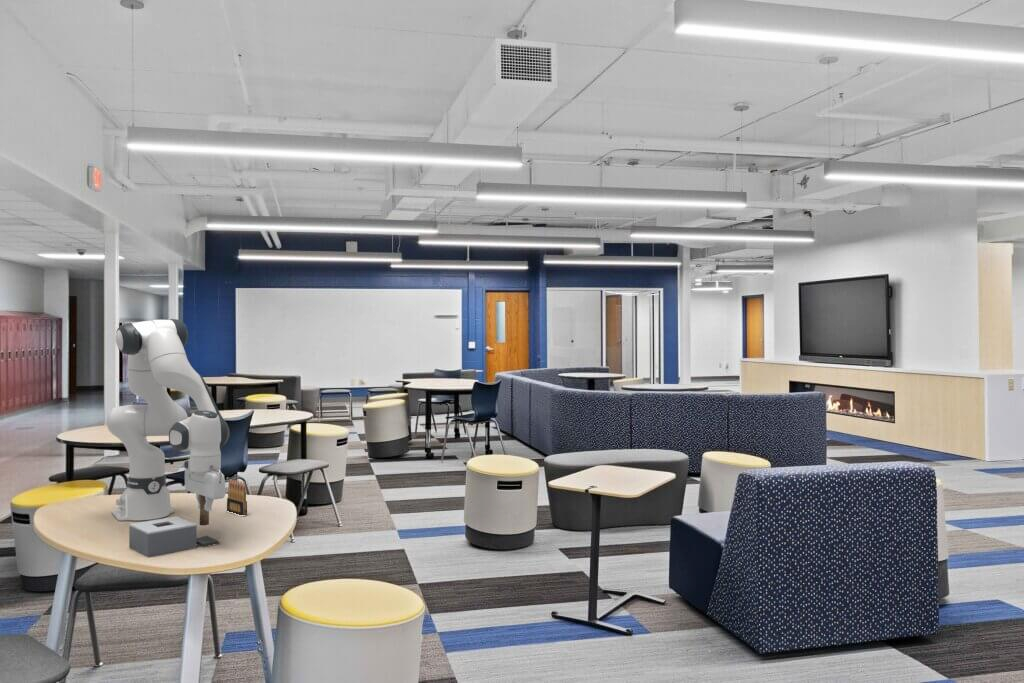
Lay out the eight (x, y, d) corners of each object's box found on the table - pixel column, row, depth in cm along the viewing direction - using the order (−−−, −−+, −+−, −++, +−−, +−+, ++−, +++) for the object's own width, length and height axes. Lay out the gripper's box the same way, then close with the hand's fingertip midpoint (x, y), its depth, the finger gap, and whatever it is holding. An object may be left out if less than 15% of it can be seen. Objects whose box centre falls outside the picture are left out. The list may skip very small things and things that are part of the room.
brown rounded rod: (198, 524, 229) (198, 491, 229) (206, 523, 230) (207, 490, 231) (201, 526, 227) (202, 493, 227) (210, 524, 229) (210, 491, 229)
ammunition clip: (226, 511, 270) (226, 478, 270) (231, 511, 271) (231, 478, 271) (242, 516, 263) (242, 482, 263) (247, 515, 264) (247, 481, 264)
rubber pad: (191, 542, 230) (191, 538, 230) (207, 539, 234) (207, 535, 234) (202, 547, 225) (202, 543, 225) (219, 544, 228) (219, 540, 228)
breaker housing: (129, 547, 223) (129, 524, 223) (176, 538, 234) (176, 516, 234) (148, 557, 214) (148, 532, 214) (196, 547, 224) (196, 524, 224)
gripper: (231, 467, 224) (230, 513, 224) (200, 459, 238) (200, 503, 238) (210, 469, 219) (210, 516, 219) (180, 461, 233) (180, 506, 233)
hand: (204, 509), depth 229 cm, fingers closed on brown rounded rod, 3 cm apart
